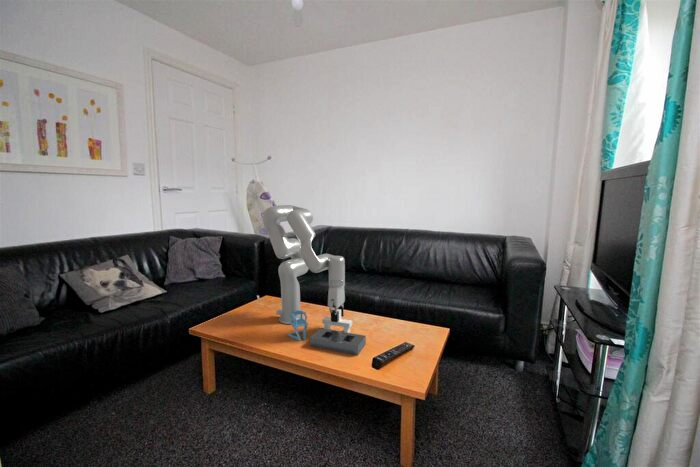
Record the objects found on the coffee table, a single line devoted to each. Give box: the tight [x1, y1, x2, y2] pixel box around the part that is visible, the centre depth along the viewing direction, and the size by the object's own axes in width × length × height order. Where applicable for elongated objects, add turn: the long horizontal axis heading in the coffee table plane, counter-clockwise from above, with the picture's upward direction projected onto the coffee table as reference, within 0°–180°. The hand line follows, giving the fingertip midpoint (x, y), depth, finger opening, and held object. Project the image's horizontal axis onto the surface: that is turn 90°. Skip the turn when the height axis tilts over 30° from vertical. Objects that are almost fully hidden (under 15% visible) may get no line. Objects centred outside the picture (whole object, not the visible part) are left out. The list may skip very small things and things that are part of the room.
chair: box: [287, 310, 309, 342], centre depth 147 cm, size 8×8×12 cm
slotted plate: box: [309, 327, 367, 356], centre depth 139 cm, size 22×10×4 cm, turn 69°
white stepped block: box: [321, 308, 353, 333], centre depth 153 cm, size 14×4×10 cm, turn 69°
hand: (337, 318), depth 153 cm, fingers open, 6 cm apart
